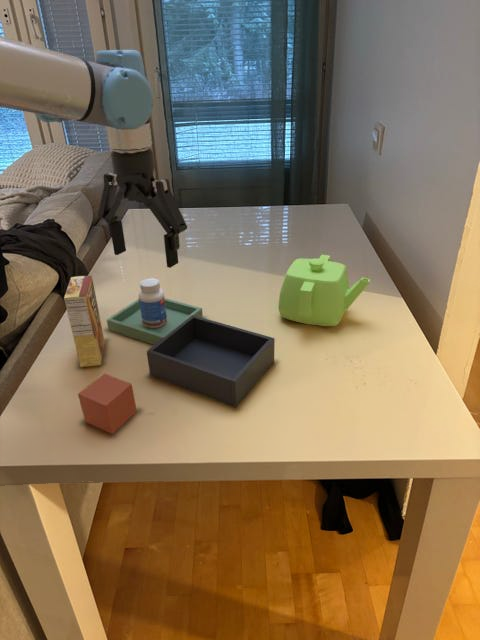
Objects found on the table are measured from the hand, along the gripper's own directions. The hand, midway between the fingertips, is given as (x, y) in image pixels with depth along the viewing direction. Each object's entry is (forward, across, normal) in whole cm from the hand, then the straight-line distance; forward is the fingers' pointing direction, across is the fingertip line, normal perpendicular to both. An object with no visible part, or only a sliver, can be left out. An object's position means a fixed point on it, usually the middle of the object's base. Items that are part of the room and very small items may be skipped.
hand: (145, 258), depth 94 cm
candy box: (+16, +4, +14) cm, 22 cm away
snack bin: (+16, -20, +7) cm, 27 cm away
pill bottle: (+15, 0, 0) cm, 15 cm away
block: (+16, -12, +26) cm, 33 cm away
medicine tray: (+16, 0, -1) cm, 16 cm away
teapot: (+16, -31, -21) cm, 40 cm away
